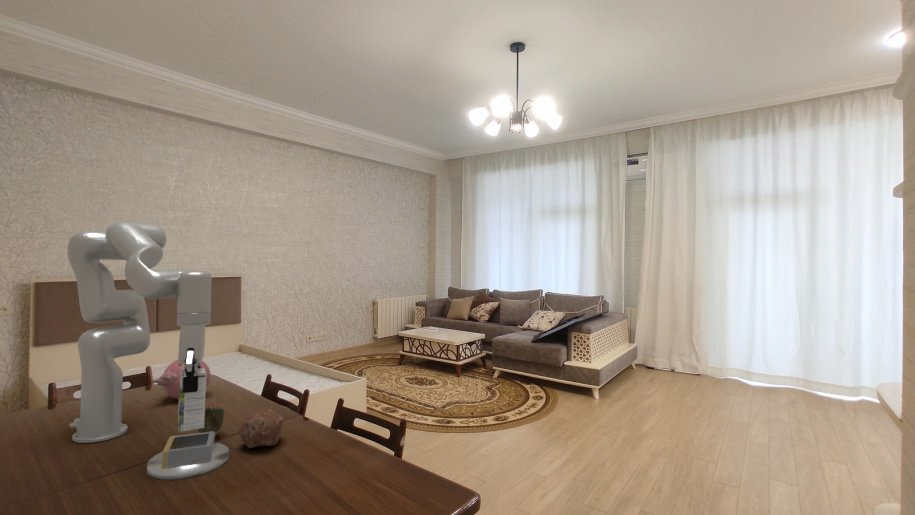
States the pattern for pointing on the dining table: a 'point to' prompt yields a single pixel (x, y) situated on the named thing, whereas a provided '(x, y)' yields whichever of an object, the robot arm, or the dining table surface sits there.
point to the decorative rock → (261, 429)
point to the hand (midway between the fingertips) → (192, 387)
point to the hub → (188, 457)
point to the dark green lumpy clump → (213, 420)
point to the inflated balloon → (176, 378)
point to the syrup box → (192, 404)
